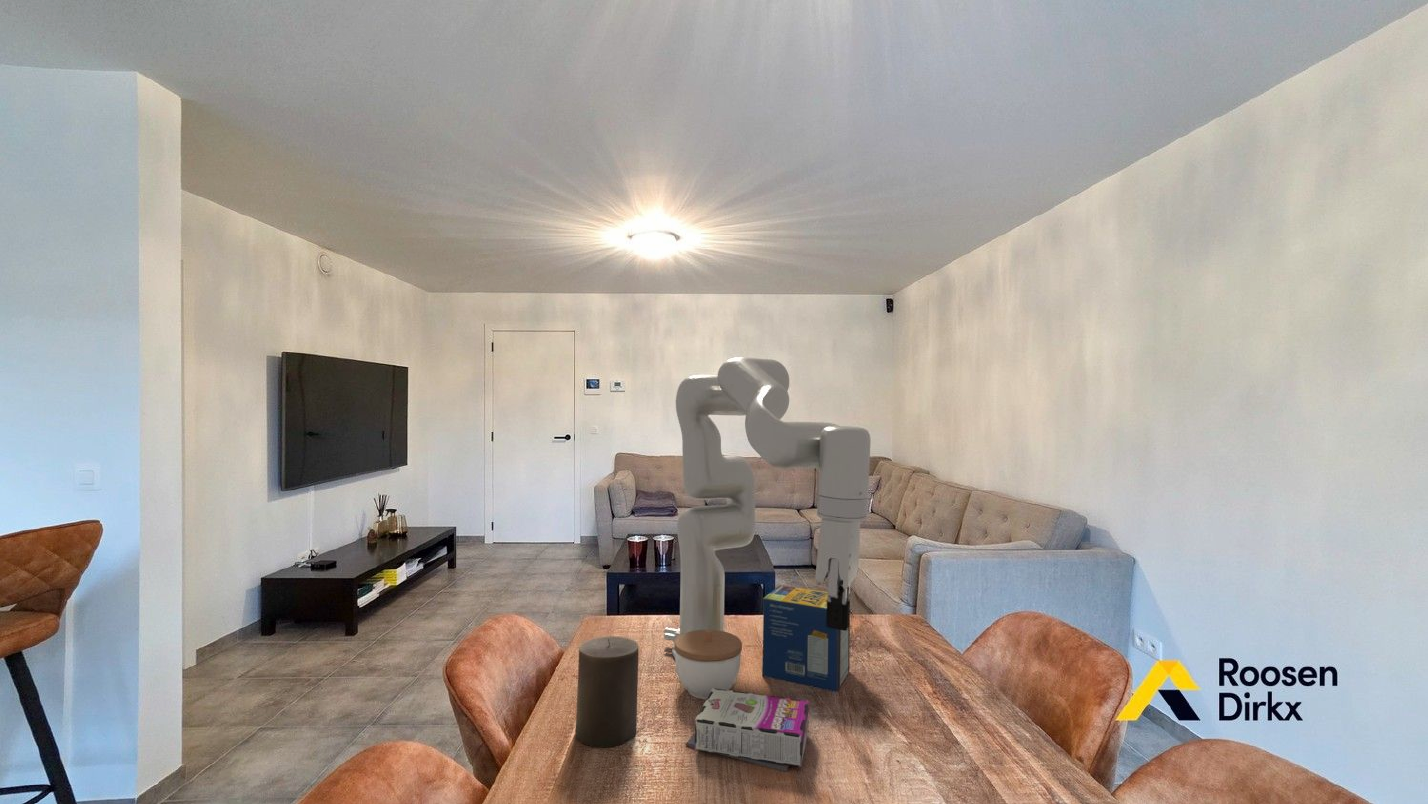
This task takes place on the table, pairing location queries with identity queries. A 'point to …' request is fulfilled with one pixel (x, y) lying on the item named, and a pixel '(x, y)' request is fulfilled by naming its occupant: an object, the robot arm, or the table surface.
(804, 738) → the candy bar box
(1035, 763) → the table surface
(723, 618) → the robot arm
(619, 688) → the pillar candle
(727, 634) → the lidded bowl
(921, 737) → the table surface
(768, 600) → the protein box
